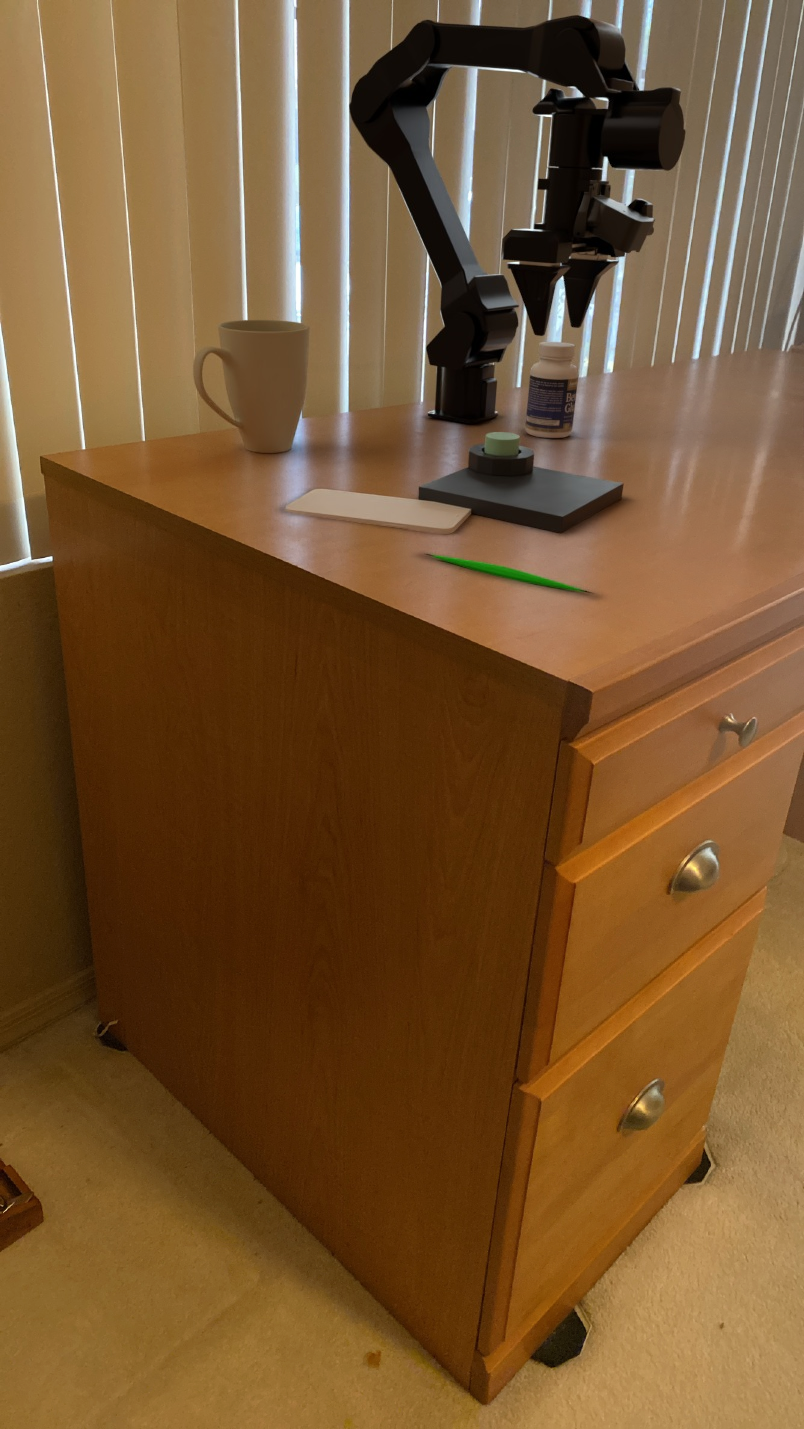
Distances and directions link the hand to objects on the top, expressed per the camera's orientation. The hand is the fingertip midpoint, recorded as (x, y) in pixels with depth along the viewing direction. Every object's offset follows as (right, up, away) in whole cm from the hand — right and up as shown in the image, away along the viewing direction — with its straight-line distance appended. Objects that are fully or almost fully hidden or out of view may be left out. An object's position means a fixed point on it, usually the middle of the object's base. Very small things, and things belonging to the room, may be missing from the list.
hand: (558, 331), depth 107 cm
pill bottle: (0, -10, +5) cm, 11 cm away
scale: (-6, -23, -19) cm, 30 cm away
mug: (-32, -15, -5) cm, 35 cm away
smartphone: (-19, -25, -23) cm, 39 cm away
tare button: (-8, -17, -15) cm, 24 cm away
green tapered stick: (-10, -32, -36) cm, 49 cm away
